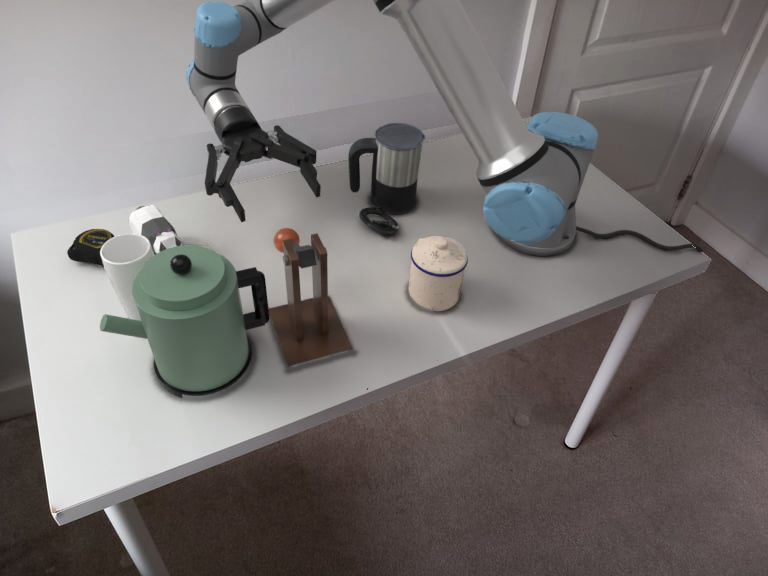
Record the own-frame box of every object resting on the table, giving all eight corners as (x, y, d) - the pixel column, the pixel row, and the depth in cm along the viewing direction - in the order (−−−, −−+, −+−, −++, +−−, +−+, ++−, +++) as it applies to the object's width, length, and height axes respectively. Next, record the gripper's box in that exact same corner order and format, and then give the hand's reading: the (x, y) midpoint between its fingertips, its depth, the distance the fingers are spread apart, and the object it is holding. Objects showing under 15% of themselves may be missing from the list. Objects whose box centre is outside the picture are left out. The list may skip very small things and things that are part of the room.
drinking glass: (131, 305, 95) (105, 232, 84) (175, 304, 96) (155, 232, 85) (121, 337, 90) (93, 264, 80) (167, 336, 91) (145, 264, 80)
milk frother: (407, 184, 123) (413, 119, 113) (438, 230, 113) (448, 163, 102) (341, 195, 119) (341, 129, 108) (367, 245, 109) (370, 177, 98)
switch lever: (274, 253, 94) (269, 228, 93) (298, 248, 96) (294, 223, 94) (295, 275, 80) (290, 247, 79) (324, 269, 82) (319, 241, 80)
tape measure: (69, 265, 101) (62, 248, 98) (92, 240, 105) (86, 223, 103) (106, 273, 100) (100, 256, 97) (128, 247, 105) (122, 231, 102)
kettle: (261, 310, 96) (248, 208, 81) (284, 377, 87) (274, 275, 72) (118, 345, 89) (75, 240, 75) (127, 421, 80) (81, 319, 66)
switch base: (267, 313, 95) (257, 227, 83) (327, 299, 98) (326, 213, 86) (288, 370, 88) (280, 284, 75) (352, 352, 91) (354, 266, 78)
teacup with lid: (469, 306, 99) (481, 254, 91) (419, 318, 96) (426, 265, 88) (439, 260, 107) (448, 208, 99) (392, 270, 104) (397, 217, 96)
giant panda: (133, 244, 105) (119, 201, 98) (163, 233, 108) (152, 190, 101) (168, 293, 97) (155, 249, 91) (200, 280, 100) (190, 236, 93)
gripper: (296, 120, 116) (346, 196, 107) (168, 155, 107) (211, 241, 98) (296, 89, 110) (349, 166, 101) (160, 123, 101) (206, 211, 92)
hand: (281, 203), depth 99 cm, fingers open, 13 cm apart
